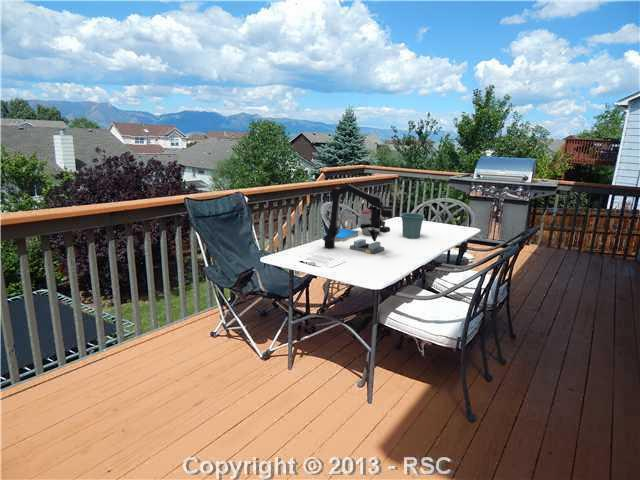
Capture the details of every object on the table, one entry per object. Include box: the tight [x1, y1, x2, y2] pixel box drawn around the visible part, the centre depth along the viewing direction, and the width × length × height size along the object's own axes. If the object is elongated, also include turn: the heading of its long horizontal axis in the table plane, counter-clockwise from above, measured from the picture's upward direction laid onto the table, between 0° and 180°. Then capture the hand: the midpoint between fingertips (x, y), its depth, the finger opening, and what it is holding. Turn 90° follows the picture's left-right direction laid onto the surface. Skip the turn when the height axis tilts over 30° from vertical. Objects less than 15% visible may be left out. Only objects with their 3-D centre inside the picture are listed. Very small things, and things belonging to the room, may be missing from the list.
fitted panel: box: [353, 238, 367, 247], centre depth 262 cm, size 9×3×5 cm, turn 139°
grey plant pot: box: [359, 208, 384, 237], centre depth 301 cm, size 18×18×21 cm
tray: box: [301, 253, 346, 269], centre depth 239 cm, size 20×28×4 cm
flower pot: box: [400, 212, 425, 239], centre depth 296 cm, size 16×16×16 cm
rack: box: [349, 242, 385, 255], centre depth 259 cm, size 13×19×3 cm
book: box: [322, 228, 360, 243], centre depth 293 cm, size 17×4×25 cm
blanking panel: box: [368, 241, 381, 250], centre depth 255 cm, size 9×3×5 cm, turn 139°
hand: (374, 241), depth 254 cm, fingers closed
